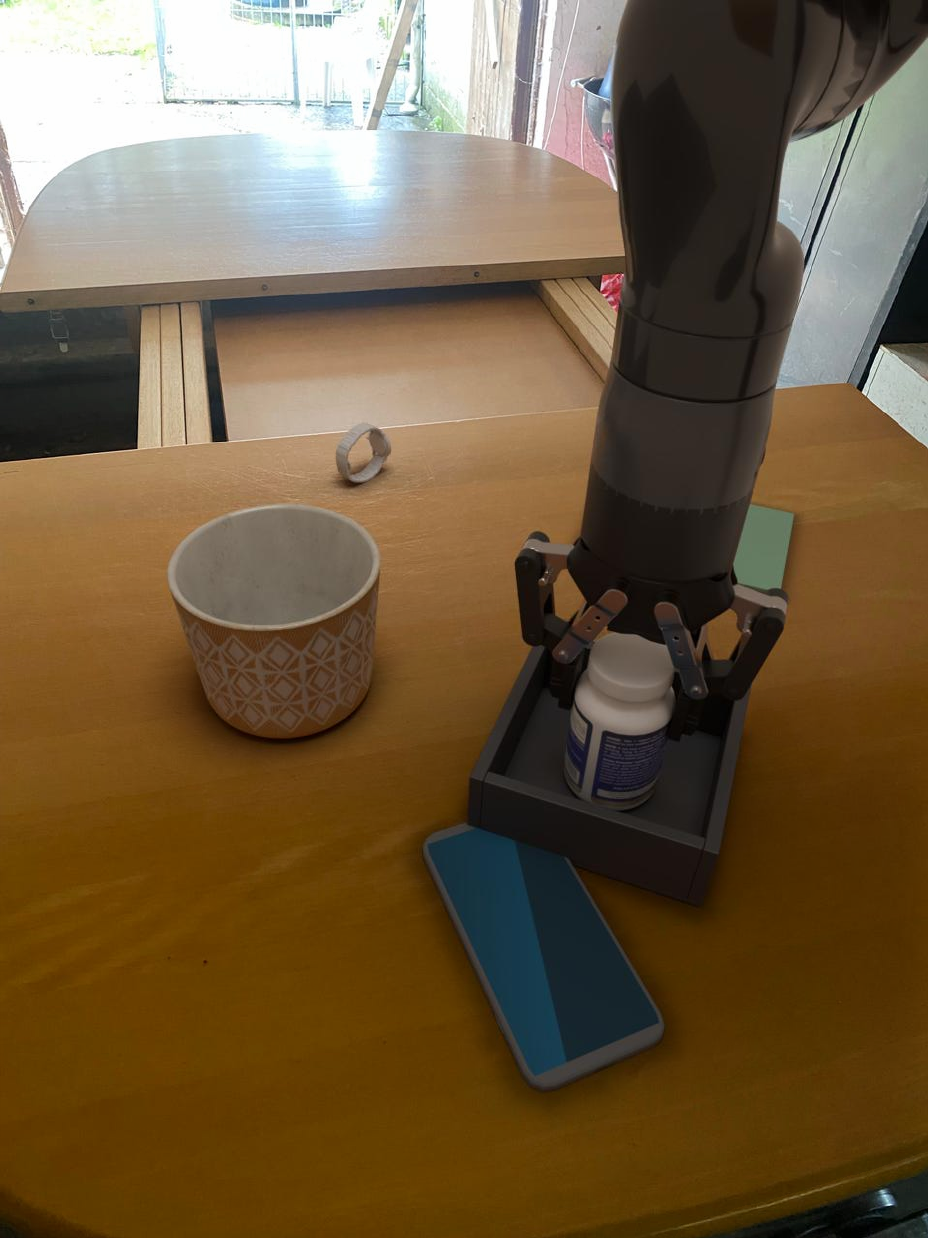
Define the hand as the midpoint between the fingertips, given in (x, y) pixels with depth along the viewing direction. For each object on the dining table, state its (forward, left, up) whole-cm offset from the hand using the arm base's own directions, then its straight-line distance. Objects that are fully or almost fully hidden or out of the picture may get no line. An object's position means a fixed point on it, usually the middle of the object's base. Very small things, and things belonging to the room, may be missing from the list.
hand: (621, 714), depth 53 cm
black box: (0, 0, -6) cm, 6 cm away
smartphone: (+1, +12, -6) cm, 13 cm away
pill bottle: (0, 0, -6) cm, 6 cm away
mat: (0, -29, -6) cm, 30 cm away
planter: (+22, 0, -6) cm, 23 cm away
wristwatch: (+29, -26, -6) cm, 39 cm away
